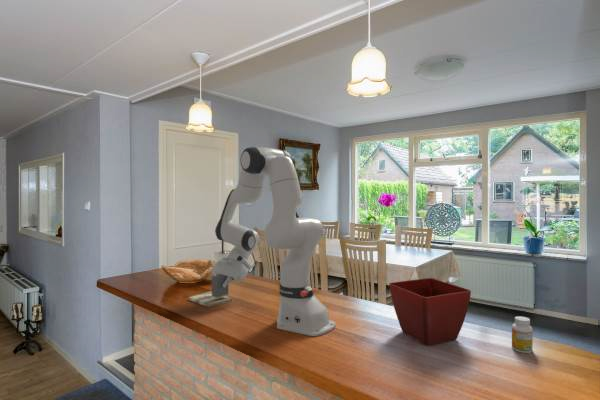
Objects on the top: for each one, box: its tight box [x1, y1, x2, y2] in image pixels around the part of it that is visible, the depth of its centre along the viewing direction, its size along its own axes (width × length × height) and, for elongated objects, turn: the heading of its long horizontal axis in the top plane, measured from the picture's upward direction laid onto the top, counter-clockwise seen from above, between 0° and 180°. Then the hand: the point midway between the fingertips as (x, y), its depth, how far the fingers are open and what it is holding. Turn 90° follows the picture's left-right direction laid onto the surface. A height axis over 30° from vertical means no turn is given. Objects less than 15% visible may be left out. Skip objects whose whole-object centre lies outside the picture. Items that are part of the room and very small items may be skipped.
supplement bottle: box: [511, 316, 534, 354], centre depth 109 cm, size 5×5×10 cm
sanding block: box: [211, 275, 229, 299], centre depth 158 cm, size 4×6×9 cm
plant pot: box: [388, 277, 472, 346], centre depth 119 cm, size 19×19×17 cm
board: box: [187, 290, 233, 308], centre depth 160 cm, size 16×12×1 cm
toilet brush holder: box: [214, 241, 231, 264], centre depth 196 cm, size 11×11×30 cm
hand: (218, 285), depth 157 cm, fingers closed on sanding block, 4 cm apart
